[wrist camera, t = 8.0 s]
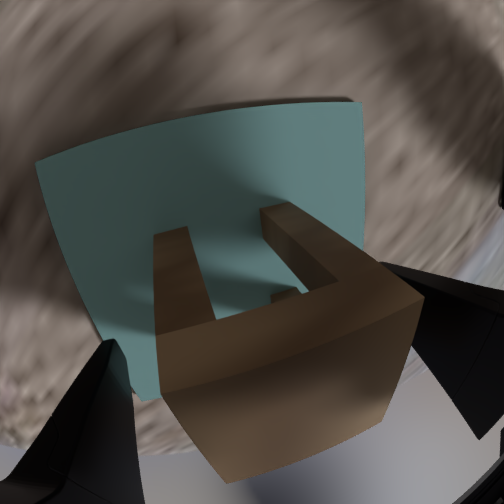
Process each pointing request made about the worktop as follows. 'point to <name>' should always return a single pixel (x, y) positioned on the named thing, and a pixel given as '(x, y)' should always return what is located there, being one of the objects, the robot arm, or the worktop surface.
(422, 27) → the worktop surface
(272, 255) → the mat
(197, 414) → the brown u-shaped block
